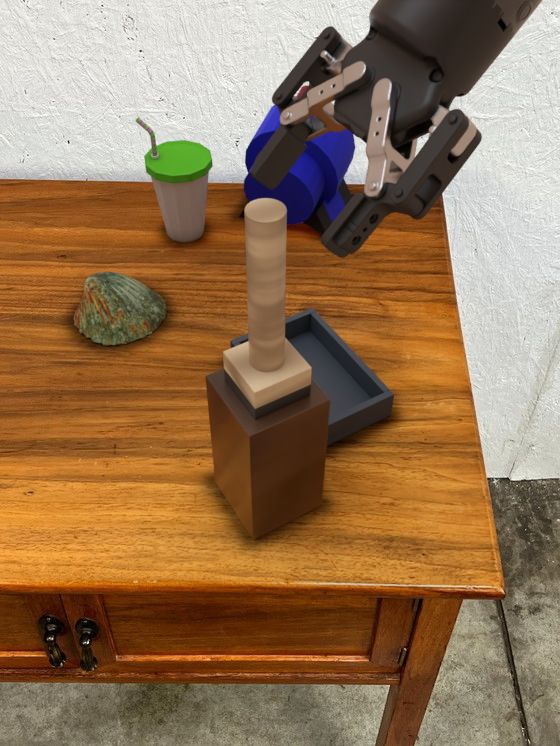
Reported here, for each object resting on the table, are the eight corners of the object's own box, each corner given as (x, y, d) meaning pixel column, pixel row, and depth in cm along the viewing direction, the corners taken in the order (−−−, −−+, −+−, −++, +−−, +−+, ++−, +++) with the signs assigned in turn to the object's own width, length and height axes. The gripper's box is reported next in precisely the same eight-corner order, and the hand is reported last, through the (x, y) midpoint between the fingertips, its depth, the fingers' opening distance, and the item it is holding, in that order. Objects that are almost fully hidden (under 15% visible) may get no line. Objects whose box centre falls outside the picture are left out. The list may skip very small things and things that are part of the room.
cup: (230, 228, 97) (224, 116, 86) (188, 259, 92) (176, 145, 81) (183, 206, 100) (172, 95, 89) (140, 235, 96) (123, 122, 85)
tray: (391, 415, 76) (394, 394, 73) (305, 457, 72) (306, 435, 70) (311, 328, 84) (312, 307, 82) (231, 361, 80) (229, 340, 78)
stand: (322, 505, 68) (330, 399, 58) (253, 540, 66) (249, 436, 56) (281, 451, 72) (282, 343, 62) (214, 482, 70) (204, 375, 60)
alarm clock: (354, 195, 102) (363, 86, 91) (323, 248, 94) (330, 135, 83) (268, 176, 105) (267, 68, 94) (231, 226, 97) (225, 114, 86)
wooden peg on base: (310, 395, 58) (319, 217, 47) (255, 420, 57) (250, 242, 45) (277, 356, 61) (279, 180, 50) (224, 379, 60) (212, 201, 48)
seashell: (99, 327, 78) (51, 278, 83) (102, 358, 80) (56, 308, 86) (182, 292, 83) (131, 248, 88) (182, 322, 85) (134, 278, 91)
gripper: (362, -87, 46) (202, 138, 50) (530, -8, 38) (322, 254, 42) (421, -11, 52) (273, 186, 56) (578, 73, 43) (390, 297, 48)
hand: (294, 215), depth 49 cm, fingers open, 8 cm apart
